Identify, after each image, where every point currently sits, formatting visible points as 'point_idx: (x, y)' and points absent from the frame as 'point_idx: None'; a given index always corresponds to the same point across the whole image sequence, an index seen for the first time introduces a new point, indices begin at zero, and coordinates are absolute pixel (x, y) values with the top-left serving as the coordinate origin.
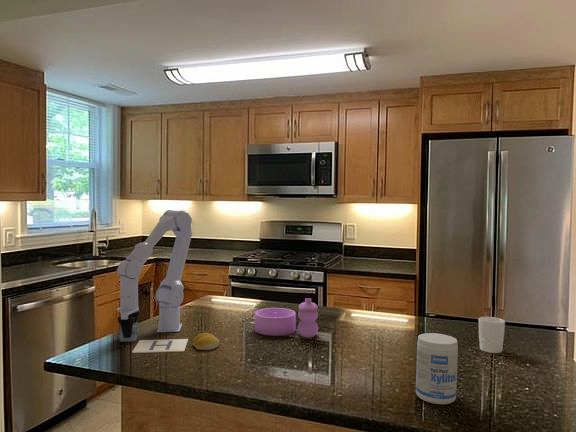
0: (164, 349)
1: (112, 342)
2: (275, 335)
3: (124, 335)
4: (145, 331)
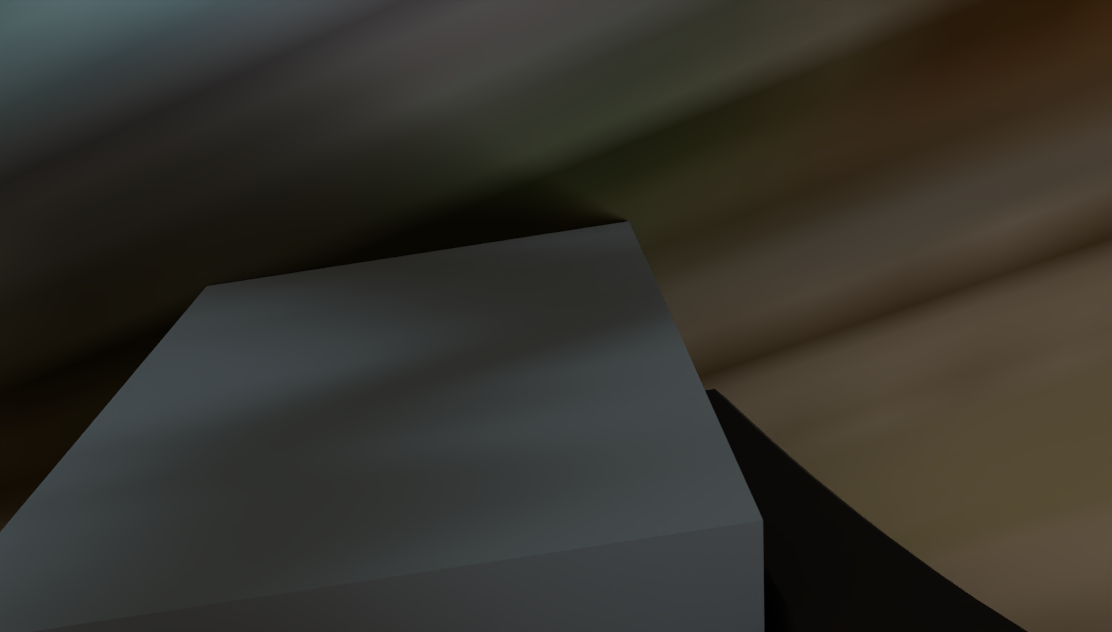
0: None
1: (77, 101)
2: None
3: None
4: (1063, 537)
